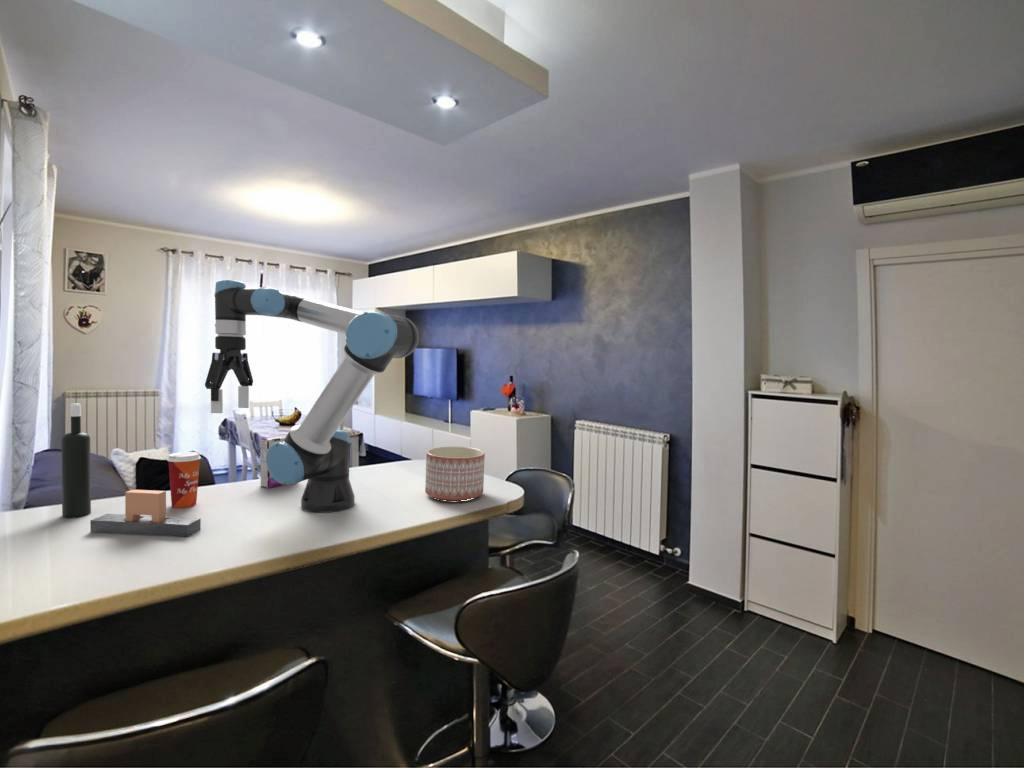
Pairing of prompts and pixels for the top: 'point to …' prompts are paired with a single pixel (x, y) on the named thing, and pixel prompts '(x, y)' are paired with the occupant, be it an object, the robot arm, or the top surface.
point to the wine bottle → (76, 468)
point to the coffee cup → (183, 478)
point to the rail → (146, 525)
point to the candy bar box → (265, 475)
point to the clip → (145, 505)
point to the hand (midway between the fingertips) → (230, 410)
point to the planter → (454, 473)
